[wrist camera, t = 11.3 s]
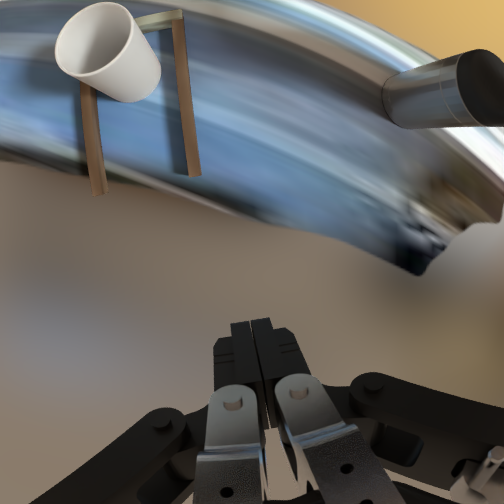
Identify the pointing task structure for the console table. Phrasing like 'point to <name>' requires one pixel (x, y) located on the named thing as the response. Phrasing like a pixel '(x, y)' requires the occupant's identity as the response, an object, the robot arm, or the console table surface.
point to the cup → (108, 52)
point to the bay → (176, 22)
